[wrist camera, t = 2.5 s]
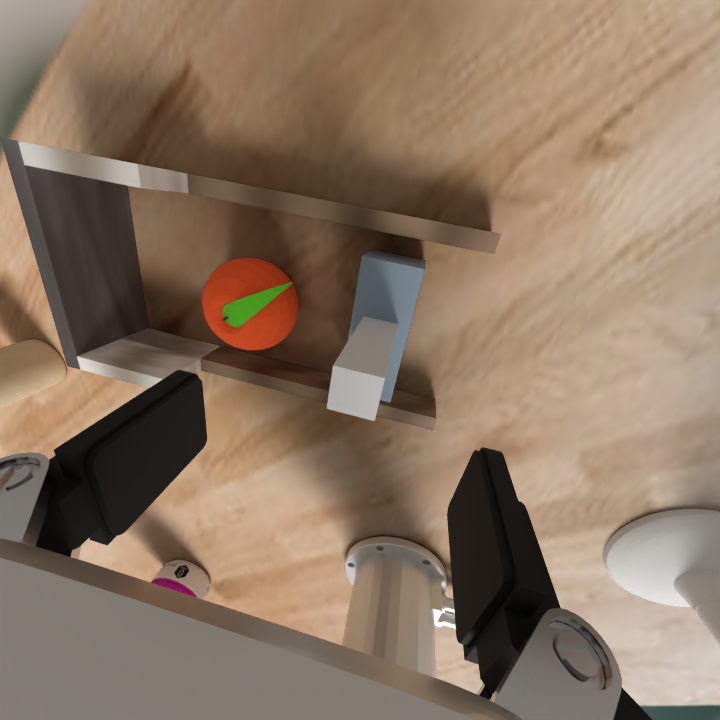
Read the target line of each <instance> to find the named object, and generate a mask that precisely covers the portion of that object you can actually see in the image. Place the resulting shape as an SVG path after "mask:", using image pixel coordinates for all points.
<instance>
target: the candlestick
mask: <svg viewBox="0 0 720 720" xmlns="http://www.w3.org/2000/svg"><path fill="white" fill-rule="evenodd" d="M603 559H604V564H605V566H606V568H607V570H608V572H609V574H610V576H611V577H612V578H613V579H614V581H615V582H616V583H617V584H619V585H620V586H621V587H622V588H624V589H625V590H627V591H629V592H631V593H633V594H635V595H637V596H639V597H642V598H645V599H647V600H650V601H654V602H657V603H661V604H666V605H672V606H682V607H692V609H693V610H694V611H695V614H696V615H697V617H699V618H700V620H701V621H702V622H703V623H704V625H705V626H706V627H707V629H708V630H709V631H710V633H711V634H712V635H713V637H714V638H715V639H716V641H717V642H718V643H719V645H720V511H714V510H706V509H678V510H669V511H663V512H659V513H654V514H651V515H648V516H645V517H642V518H639V519H637V520H635V521H633V522H631V523H629V524H627V525H625V526H624V527H622V528H621V529H619V530H618V531H617V532H616V533H615V534H614V535H613V536H612V537H611V538H610V539H609V541H608V542H607V544H606V546H605V549H604V553H603Z"/></svg>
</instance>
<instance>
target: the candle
mask: <svg viewBox="0 0 720 720" xmlns="http://www.w3.org/2000/svg"><path fill="white" fill-rule="evenodd" d="M66 375H67V369H66V365H65V363H64V361H63V359H62V357H61V356H60V355H59V354H58V352H57V351H56V350H55V349H54V348H53V347H51V346H50V345H48V344H47V343H45V342H43V341H41V340H37V339H30V340H25V341H22V342H18V343H15V344H12V345H9V346H5V347H2V348H0V409H2V408H4V407H6V406H8V405H11V404H13V403H15V402H17V401H19V400H22V399H24V398H26V397H28V396H31V395H33V394H35V393H37V392H40V391H42V390H44V389H46V388H48V387H51V386H53V385H55V384H57V383H59V382H61V381H63V380H64V379H65V378H66Z"/></svg>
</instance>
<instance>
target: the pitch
mask: <svg viewBox="0 0 720 720" xmlns="http://www.w3.org/2000/svg"><path fill="white" fill-rule="evenodd" d="M1 142H2V145H3V148H4V152H5V155H6V159H7V162H8V165H9V169H10V172H11V176H12V179H13V182H14V186H15V189H16V193H17V196H18V199H19V203H20V206H21V210H22V213H23V217H24V220H25V223H26V227H27V230H28V234H29V237H30V240H31V244H32V247H33V251H34V254H35V257H36V261H37V264H38V268H39V271H40V274H41V278H42V281H43V285H44V288H45V291H46V295H47V298H48V302H49V305H50V308H51V312H52V315H53V319H54V322H55V325H56V329H57V332H58V336H59V339H60V342H61V346H62V349H63V353H64V356H65V359H66V363H67V366H69V367H73V368H77V369H80V370H84V371H88V372H92V373H95V374H99V375H103V376H106V377H110V378H114V379H118V380H121V381H125V382H129V383H132V384H136V385H140V386H144V387H147V388H150V387H152V386H153V385H155V384H156V383H158V382H160V381H161V380H163V379H164V378H166V377H167V376H169V375H170V374H172V373H173V372H175V371H177V370H183V371H187V372H191V373H195V374H197V373H198V372H200V371H201V370H202V371H205V372H209V373H213V374H217V375H221V376H225V377H229V378H233V379H236V380H240V381H244V382H248V383H252V384H256V385H260V386H264V387H267V388H271V389H275V390H279V391H283V392H287V393H291V394H294V395H298V396H302V397H306V398H310V399H314V400H318V401H322V402H325V403H327V402H328V396H329V389H330V382H331V376H332V374H331V373H327V372H323V371H319V370H315V369H311V368H307V367H303V366H299V365H295V364H291V363H287V362H283V361H279V360H275V359H271V358H267V357H263V356H259V355H255V354H251V353H247V352H243V351H239V350H235V349H231V348H227V347H222V346H218V345H214V344H210V343H206V342H202V341H198V340H194V339H190V338H186V337H182V336H178V335H174V334H170V333H166V332H162V331H158V330H154V329H150V328H148V323H147V316H146V310H145V303H144V296H143V290H142V283H141V276H140V270H139V263H138V256H137V249H136V243H135V236H134V229H133V223H132V216H131V209H130V203H129V196H128V189H127V186H132V187H137V188H143V189H152V190H162V191H171V192H180V193H189V194H194V195H199V196H204V197H209V198H214V199H219V200H224V201H229V202H234V203H239V204H244V205H249V206H255V207H260V208H265V209H270V210H275V211H280V212H285V213H290V214H295V215H300V216H305V217H310V218H315V219H320V220H325V221H330V222H335V223H340V224H345V225H350V226H355V227H360V228H365V229H370V230H375V231H380V232H385V233H390V234H396V235H401V236H406V237H411V238H416V239H421V240H426V241H431V242H436V243H441V244H446V245H451V246H456V247H461V248H466V249H471V250H476V251H481V252H486V253H491V254H494V253H495V250H496V247H497V245H498V242H499V239H500V236H501V234H500V233H495V232H489V231H484V230H479V229H474V228H469V227H463V226H458V225H453V224H448V223H443V222H437V221H432V220H427V219H422V218H417V217H411V216H406V215H401V214H396V213H390V212H385V211H380V210H375V209H370V208H364V207H359V206H354V205H349V204H344V203H338V202H333V201H328V200H323V199H318V198H312V197H307V196H302V195H297V194H291V193H286V192H281V191H276V190H271V189H265V188H260V187H255V186H250V185H245V184H239V183H234V182H229V181H224V180H218V179H213V178H208V177H203V176H198V175H192V174H187V173H182V172H177V171H172V170H166V169H161V168H156V167H151V166H146V165H140V164H135V163H130V162H125V161H119V160H114V159H109V158H104V157H99V156H93V155H88V154H83V153H78V152H73V151H67V150H62V149H57V148H52V147H46V146H41V145H36V144H31V143H26V142H20V141H15V140H10V139H5V138H1ZM376 416H380V417H384V418H387V419H391V420H395V421H399V422H403V423H407V424H411V425H415V426H418V427H422V428H426V429H430V430H432V429H433V427H434V424H435V421H436V406H435V399H432V398H428V397H424V396H420V395H416V394H412V393H408V392H404V391H400V390H396V389H394V390H393V394H392V398H391V402H386V401H382V400H380V401H379V406H378V410H377V414H376Z"/></svg>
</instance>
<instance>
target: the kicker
mask: <svg viewBox="0 0 720 720" xmlns="http://www.w3.org/2000/svg"><path fill="white" fill-rule="evenodd" d="M424 271H425V260H420V259H415V258H410V257H406V256H401V255H396V254H391V253H386V252H381V251H376V250H371V251H369V252H368V253H366V254H364V255H363V256H362V258H361V264H360V270H359V276H358V282H357V288H356V294H355V300H354V306H353V312H352V318H351V324H350V330H349V336H348V342H347V344H346V345H345V347H344V349H343V350H342V352H341V353H340V355H339V357H338V358H337V360H336V361H335V363H334V365H333V369H332V376H331V382H330V389H329V396H328V402H327V409H330V410H334V411H337V412H341V413H345V414H349V415H353V416H357V417H360V418H364V419H368V420H372V421H375V418H376V414H377V410H378V406H379V401H380V400H382V401H386V402H391V398H392V394H393V390H394V387H395V383H396V379H397V375H398V371H399V367H400V363H401V360H402V356H403V352H404V348H405V344H406V340H407V337H408V333H409V329H410V325H411V321H412V317H413V313H414V310H415V306H416V302H417V298H418V294H419V290H420V287H421V283H422V279H423V275H424Z"/></svg>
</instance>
